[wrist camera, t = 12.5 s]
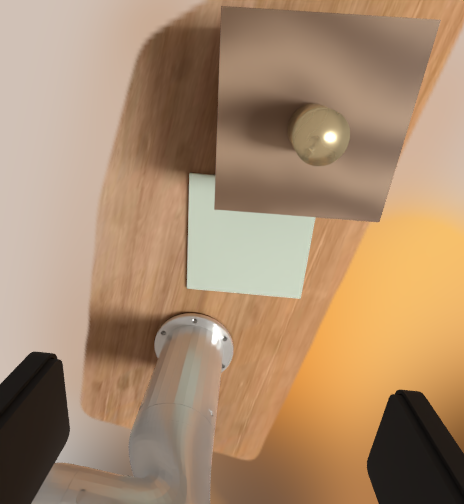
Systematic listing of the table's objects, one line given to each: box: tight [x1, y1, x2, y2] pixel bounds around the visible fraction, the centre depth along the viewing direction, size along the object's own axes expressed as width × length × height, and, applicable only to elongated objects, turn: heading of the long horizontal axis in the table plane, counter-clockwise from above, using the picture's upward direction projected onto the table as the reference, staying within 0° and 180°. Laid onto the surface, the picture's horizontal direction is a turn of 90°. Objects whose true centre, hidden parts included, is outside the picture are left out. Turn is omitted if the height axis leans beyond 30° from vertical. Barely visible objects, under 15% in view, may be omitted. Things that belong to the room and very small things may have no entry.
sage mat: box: [187, 173, 315, 299], centre depth 45 cm, size 17×17×1 cm
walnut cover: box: [214, 6, 441, 222], centre depth 30 cm, size 16×16×16 cm
